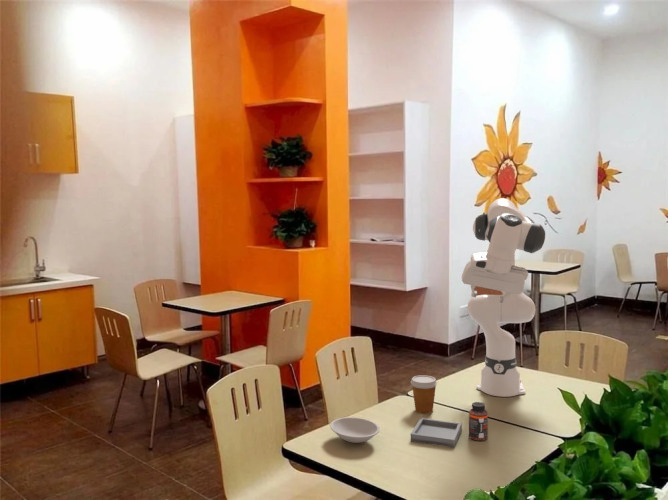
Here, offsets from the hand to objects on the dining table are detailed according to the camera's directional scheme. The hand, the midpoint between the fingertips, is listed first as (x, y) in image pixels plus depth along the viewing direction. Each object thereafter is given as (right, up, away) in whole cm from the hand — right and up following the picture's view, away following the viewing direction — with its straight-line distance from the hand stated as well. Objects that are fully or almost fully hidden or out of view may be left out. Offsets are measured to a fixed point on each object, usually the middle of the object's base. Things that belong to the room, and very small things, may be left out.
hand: (487, 299), depth 192 cm
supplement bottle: (-5, -45, -7) cm, 46 cm away
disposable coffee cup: (-19, -43, +17) cm, 50 cm away
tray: (-18, -45, -5) cm, 48 cm away
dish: (-45, -46, -7) cm, 65 cm away
